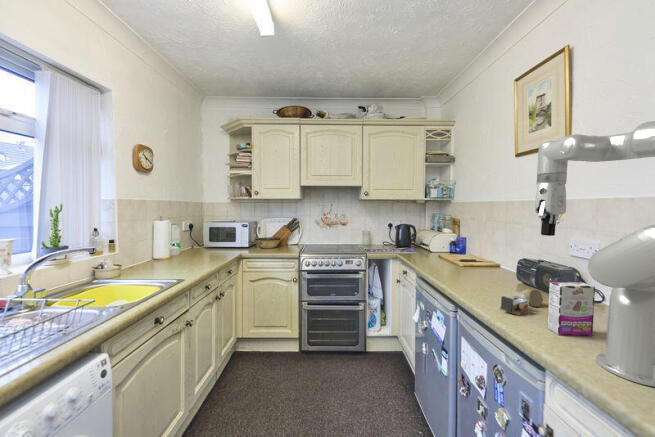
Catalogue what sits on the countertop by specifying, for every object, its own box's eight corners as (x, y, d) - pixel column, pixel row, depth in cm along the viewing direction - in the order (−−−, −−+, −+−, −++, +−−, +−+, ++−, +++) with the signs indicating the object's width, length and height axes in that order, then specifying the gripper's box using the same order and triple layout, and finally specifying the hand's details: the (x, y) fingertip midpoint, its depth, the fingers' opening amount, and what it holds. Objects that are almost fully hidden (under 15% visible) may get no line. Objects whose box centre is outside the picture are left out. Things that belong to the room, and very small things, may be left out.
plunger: (512, 312, 100) (513, 300, 99) (499, 307, 104) (499, 296, 104) (528, 307, 105) (529, 296, 105) (514, 303, 109) (515, 292, 109)
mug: (520, 298, 120) (534, 282, 115) (535, 316, 111) (551, 299, 107) (506, 295, 119) (520, 279, 114) (520, 312, 110) (535, 295, 105)
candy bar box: (578, 329, 90) (582, 281, 89) (593, 336, 85) (596, 286, 84) (545, 328, 90) (548, 281, 89) (558, 335, 85) (561, 285, 84)
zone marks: (561, 310, 106) (561, 310, 106) (553, 313, 103) (553, 313, 103) (517, 297, 120) (517, 297, 120) (509, 299, 117) (509, 299, 117)
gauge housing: (519, 315, 100) (519, 306, 100) (499, 309, 106) (500, 300, 106) (528, 313, 103) (528, 304, 103) (508, 306, 109) (508, 298, 109)
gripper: (553, 177, 80) (550, 237, 81) (576, 180, 87) (572, 235, 88) (526, 179, 86) (522, 235, 87) (548, 181, 93) (545, 233, 94)
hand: (547, 235), depth 88 cm, fingers closed
